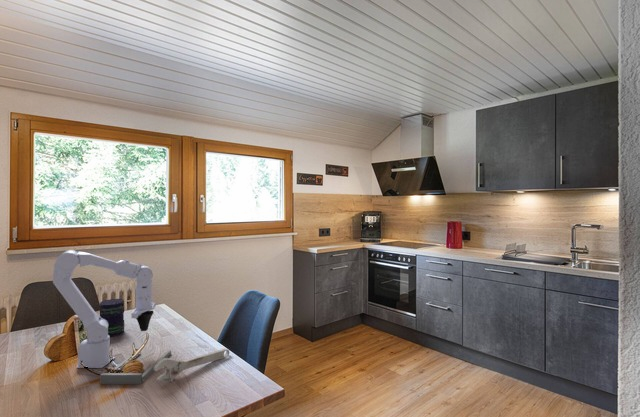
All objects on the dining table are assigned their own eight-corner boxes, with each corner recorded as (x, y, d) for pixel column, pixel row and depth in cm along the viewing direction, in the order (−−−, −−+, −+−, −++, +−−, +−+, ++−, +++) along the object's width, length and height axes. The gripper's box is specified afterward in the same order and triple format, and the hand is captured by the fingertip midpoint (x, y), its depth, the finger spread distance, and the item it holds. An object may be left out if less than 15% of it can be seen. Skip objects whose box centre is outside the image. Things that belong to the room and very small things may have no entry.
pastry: (143, 379, 114) (143, 368, 114) (120, 384, 111) (120, 373, 111) (143, 367, 122) (143, 357, 122) (122, 372, 119) (122, 361, 119)
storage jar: (94, 336, 152) (94, 303, 152) (114, 328, 161) (114, 297, 161) (109, 339, 148) (109, 305, 148) (129, 331, 157) (129, 300, 157)
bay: (100, 383, 111) (100, 374, 111) (137, 353, 133) (137, 346, 133) (140, 384, 111) (140, 375, 111) (170, 353, 133) (170, 346, 133)
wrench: (228, 363, 132) (154, 388, 107) (225, 362, 133) (151, 386, 109) (230, 342, 132) (157, 362, 108) (227, 341, 134) (154, 360, 109)
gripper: (144, 301, 126) (144, 337, 126) (162, 291, 141) (162, 324, 141) (125, 301, 126) (125, 337, 126) (145, 291, 141) (146, 324, 141)
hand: (144, 330), depth 133 cm, fingers closed
